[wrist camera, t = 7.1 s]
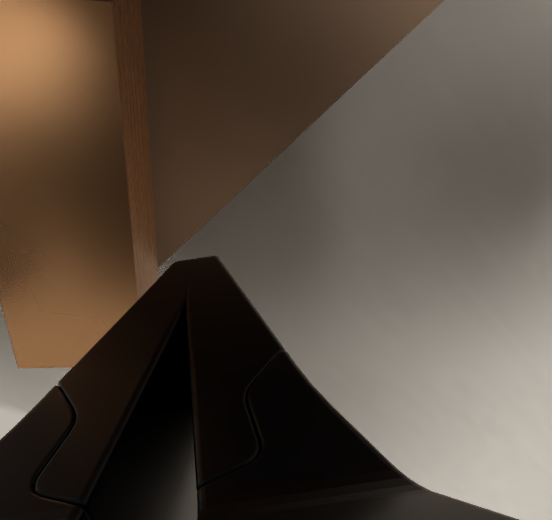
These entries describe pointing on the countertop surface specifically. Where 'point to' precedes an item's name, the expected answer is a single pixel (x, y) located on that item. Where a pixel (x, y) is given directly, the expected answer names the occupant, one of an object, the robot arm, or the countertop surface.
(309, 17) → the base plate
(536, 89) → the countertop surface
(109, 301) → the metal and wood piece
